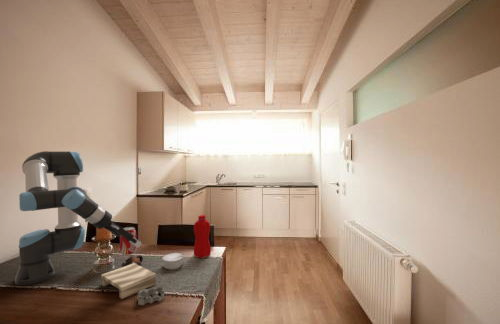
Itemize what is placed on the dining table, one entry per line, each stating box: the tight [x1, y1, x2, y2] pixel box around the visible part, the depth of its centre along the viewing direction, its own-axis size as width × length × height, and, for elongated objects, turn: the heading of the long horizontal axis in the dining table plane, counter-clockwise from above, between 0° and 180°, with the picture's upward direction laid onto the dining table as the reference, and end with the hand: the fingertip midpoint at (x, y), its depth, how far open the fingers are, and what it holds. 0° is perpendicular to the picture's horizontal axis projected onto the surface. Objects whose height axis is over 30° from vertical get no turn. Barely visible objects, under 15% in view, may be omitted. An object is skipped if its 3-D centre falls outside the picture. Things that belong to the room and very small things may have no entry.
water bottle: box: [193, 214, 212, 259], centre depth 152 cm, size 9×11×25 cm
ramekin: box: [162, 252, 184, 270], centre depth 137 cm, size 11×11×5 cm
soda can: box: [119, 226, 137, 256], centre depth 116 cm, size 7×7×12 cm
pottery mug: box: [120, 254, 144, 268], centre depth 134 cm, size 12×10×8 cm
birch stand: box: [101, 262, 157, 300], centre depth 117 cm, size 20×16×5 cm
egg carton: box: [137, 284, 165, 306], centre depth 105 cm, size 11×8×4 cm
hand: (135, 243), depth 119 cm, fingers closed on soda can, 7 cm apart
